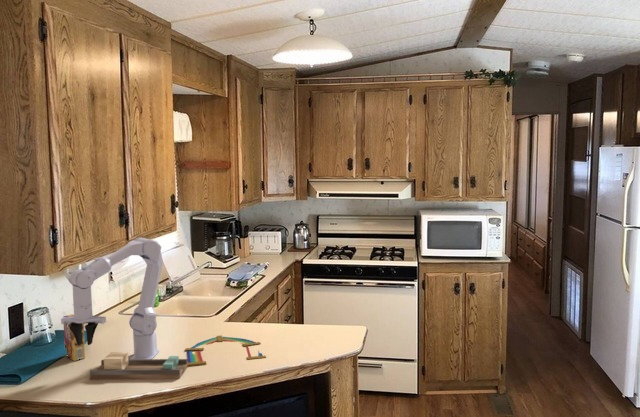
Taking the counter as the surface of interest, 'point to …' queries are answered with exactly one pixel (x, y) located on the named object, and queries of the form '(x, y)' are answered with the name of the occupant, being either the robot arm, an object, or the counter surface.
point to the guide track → (144, 369)
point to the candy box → (73, 343)
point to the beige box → (116, 360)
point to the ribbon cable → (197, 359)
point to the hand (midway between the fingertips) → (84, 344)
